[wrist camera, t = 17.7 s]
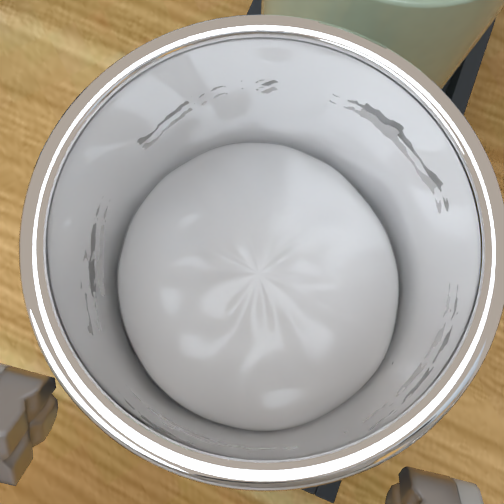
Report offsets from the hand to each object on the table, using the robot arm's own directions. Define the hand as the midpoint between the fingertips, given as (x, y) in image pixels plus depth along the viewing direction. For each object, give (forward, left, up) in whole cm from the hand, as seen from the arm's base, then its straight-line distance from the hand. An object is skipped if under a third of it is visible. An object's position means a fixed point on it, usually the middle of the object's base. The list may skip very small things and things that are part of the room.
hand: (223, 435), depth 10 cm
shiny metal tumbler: (+1, -4, -10) cm, 11 cm away
